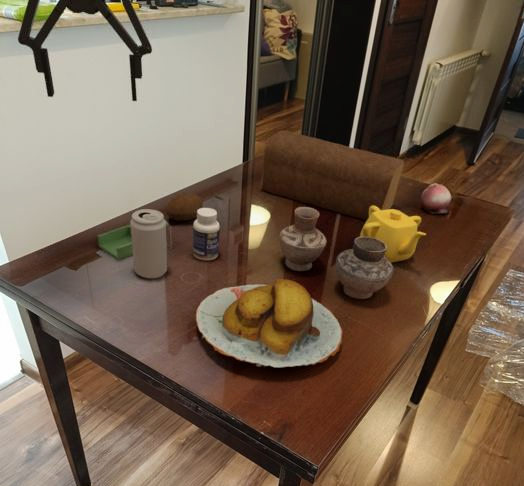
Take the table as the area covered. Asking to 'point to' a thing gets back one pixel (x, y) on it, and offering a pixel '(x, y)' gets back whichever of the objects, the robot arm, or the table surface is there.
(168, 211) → the potato
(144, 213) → the beverage can
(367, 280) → the pottery
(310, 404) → the table surface
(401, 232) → the teapot
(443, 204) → the pink peach
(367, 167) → the bread
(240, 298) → the food on plate
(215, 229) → the pill bottle
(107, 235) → the scoop
